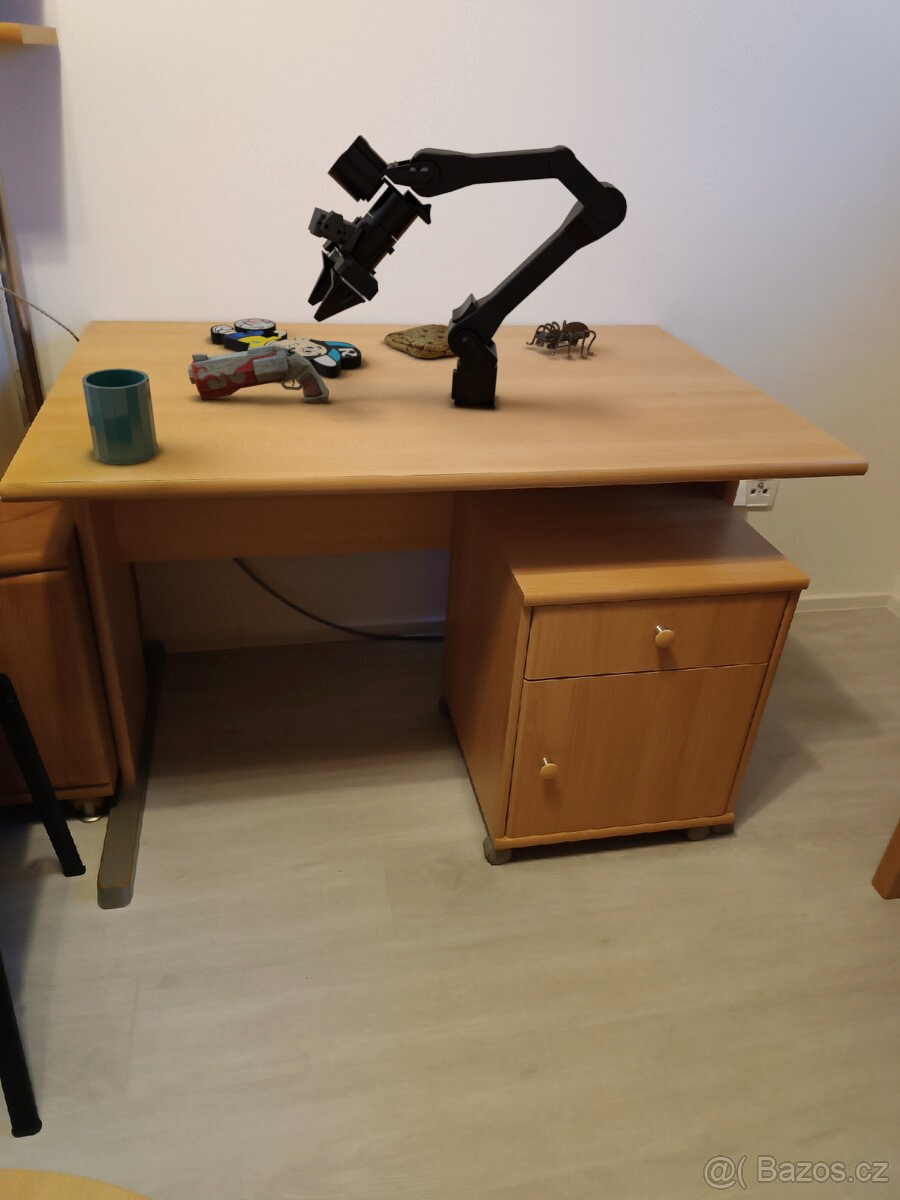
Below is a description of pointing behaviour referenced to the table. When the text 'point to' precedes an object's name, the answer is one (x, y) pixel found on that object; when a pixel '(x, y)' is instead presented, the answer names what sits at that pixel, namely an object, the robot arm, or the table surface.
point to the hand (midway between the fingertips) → (312, 311)
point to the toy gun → (256, 372)
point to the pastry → (421, 341)
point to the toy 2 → (563, 336)
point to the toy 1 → (288, 345)
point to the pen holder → (120, 416)
